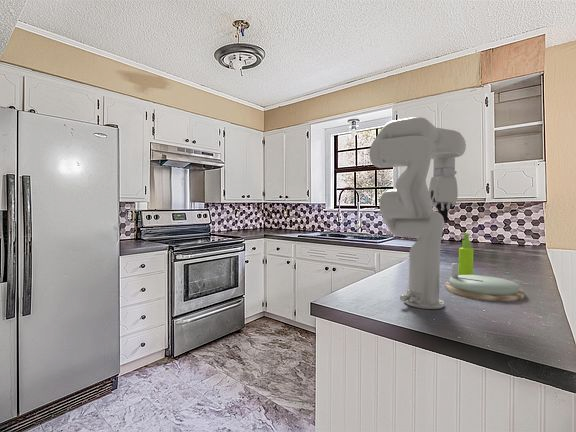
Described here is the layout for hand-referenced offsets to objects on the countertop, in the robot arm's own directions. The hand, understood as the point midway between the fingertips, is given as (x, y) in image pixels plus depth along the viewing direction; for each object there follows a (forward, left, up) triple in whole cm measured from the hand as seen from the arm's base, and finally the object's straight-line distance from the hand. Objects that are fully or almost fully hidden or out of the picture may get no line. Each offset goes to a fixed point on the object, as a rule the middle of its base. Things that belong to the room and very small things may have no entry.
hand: (442, 220), depth 126 cm
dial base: (+11, -10, -27) cm, 31 cm away
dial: (+11, -10, -25) cm, 29 cm away
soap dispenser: (+30, +8, -27) cm, 41 cm away
